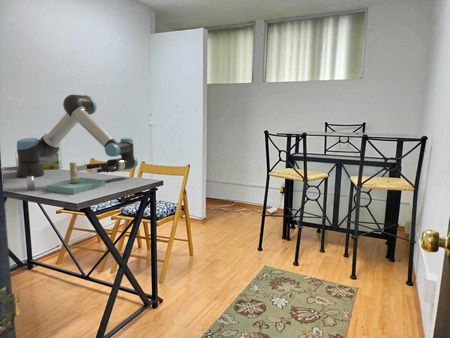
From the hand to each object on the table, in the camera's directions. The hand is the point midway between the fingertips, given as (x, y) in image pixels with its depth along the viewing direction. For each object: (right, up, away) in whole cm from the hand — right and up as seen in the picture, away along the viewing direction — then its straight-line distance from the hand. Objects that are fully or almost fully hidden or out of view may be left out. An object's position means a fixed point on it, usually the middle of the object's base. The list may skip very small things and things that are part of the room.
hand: (83, 170), depth 173 cm
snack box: (-52, +1, +56) cm, 76 cm away
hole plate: (-3, -10, -1) cm, 10 cm away
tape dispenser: (-66, +2, +63) cm, 91 cm away
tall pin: (-3, -10, -3) cm, 11 cm away
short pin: (-24, -10, -7) cm, 27 cm away
